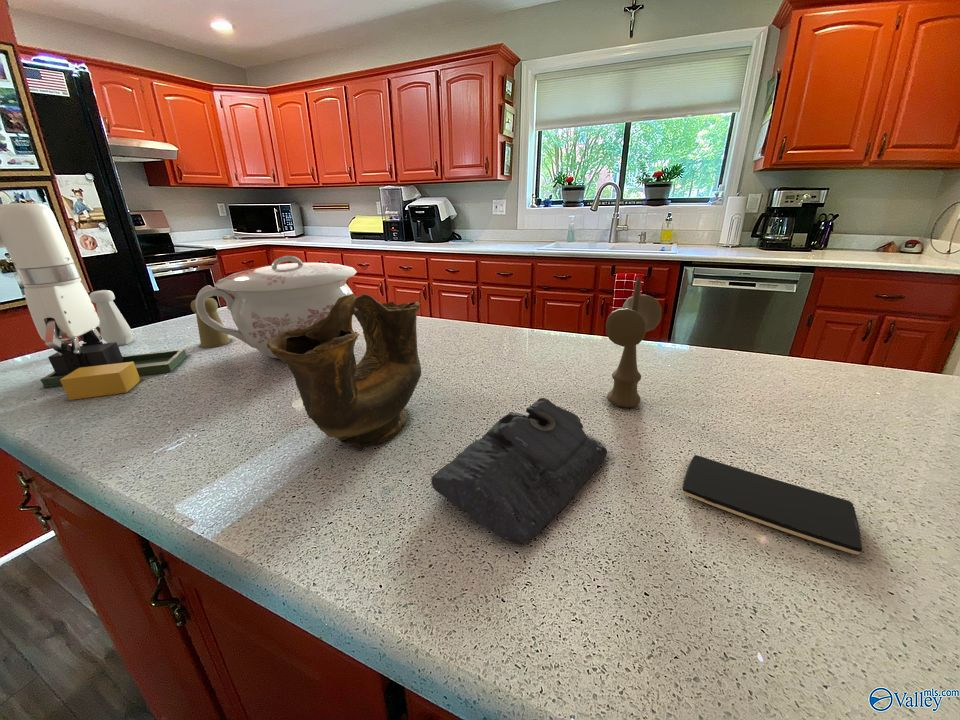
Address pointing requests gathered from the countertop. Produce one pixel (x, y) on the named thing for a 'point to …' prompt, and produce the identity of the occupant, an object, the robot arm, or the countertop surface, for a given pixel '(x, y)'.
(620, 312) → the kendama
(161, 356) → the tray
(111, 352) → the charcoal pad
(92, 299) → the salt shaker
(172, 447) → the countertop surface
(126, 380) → the mustard pad
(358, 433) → the pottery vessel
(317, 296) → the chamber pot
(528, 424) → the dark slate chunk
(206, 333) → the olive knobbed cylinder
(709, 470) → the smartphone
